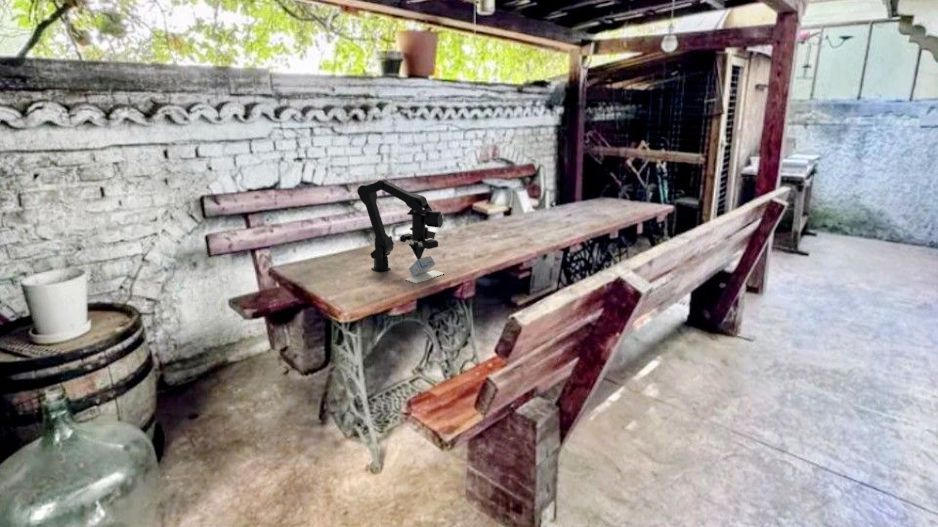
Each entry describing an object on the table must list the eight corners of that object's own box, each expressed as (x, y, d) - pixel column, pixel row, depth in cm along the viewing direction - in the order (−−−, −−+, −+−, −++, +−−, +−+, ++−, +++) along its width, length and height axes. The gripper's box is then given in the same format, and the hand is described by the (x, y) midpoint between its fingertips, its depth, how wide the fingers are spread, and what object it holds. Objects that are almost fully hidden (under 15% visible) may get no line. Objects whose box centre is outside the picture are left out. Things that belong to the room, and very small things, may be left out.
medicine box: (421, 265, 231) (430, 255, 226) (425, 273, 230) (435, 263, 225) (408, 268, 226) (417, 258, 220) (413, 277, 225) (422, 267, 219)
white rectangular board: (404, 280, 221) (404, 279, 220) (434, 271, 234) (434, 270, 233) (415, 283, 217) (415, 282, 216) (444, 274, 229) (444, 273, 229)
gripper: (447, 225, 221) (446, 260, 225) (417, 219, 232) (417, 252, 237) (428, 230, 213) (428, 265, 217) (398, 222, 224) (399, 256, 229)
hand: (419, 259), depth 225 cm, fingers closed
